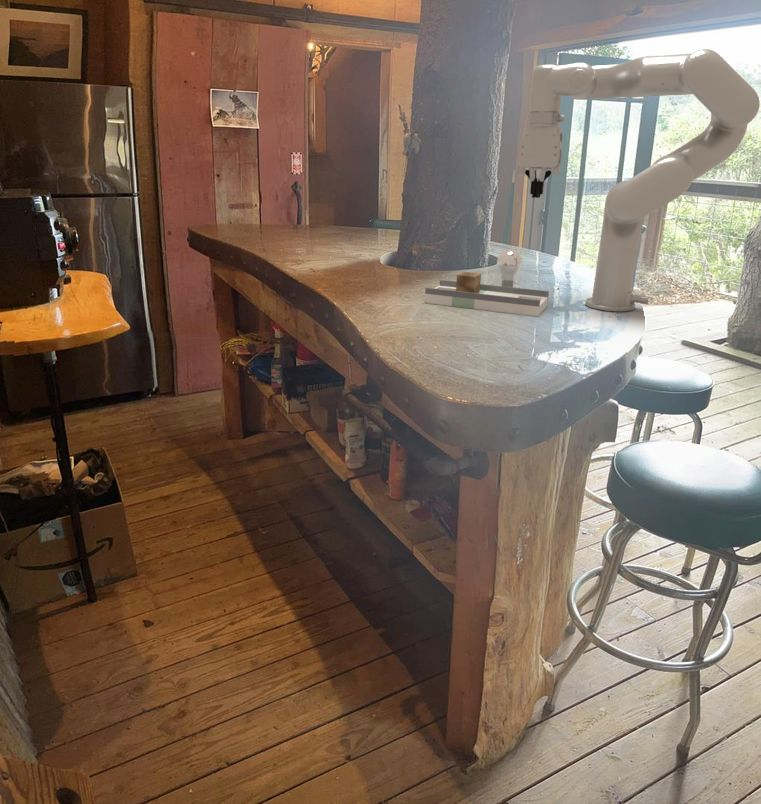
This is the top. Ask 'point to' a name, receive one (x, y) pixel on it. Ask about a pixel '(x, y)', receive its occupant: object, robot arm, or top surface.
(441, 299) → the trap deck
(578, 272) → the top surface
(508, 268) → the light bulb
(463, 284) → the walnut block
